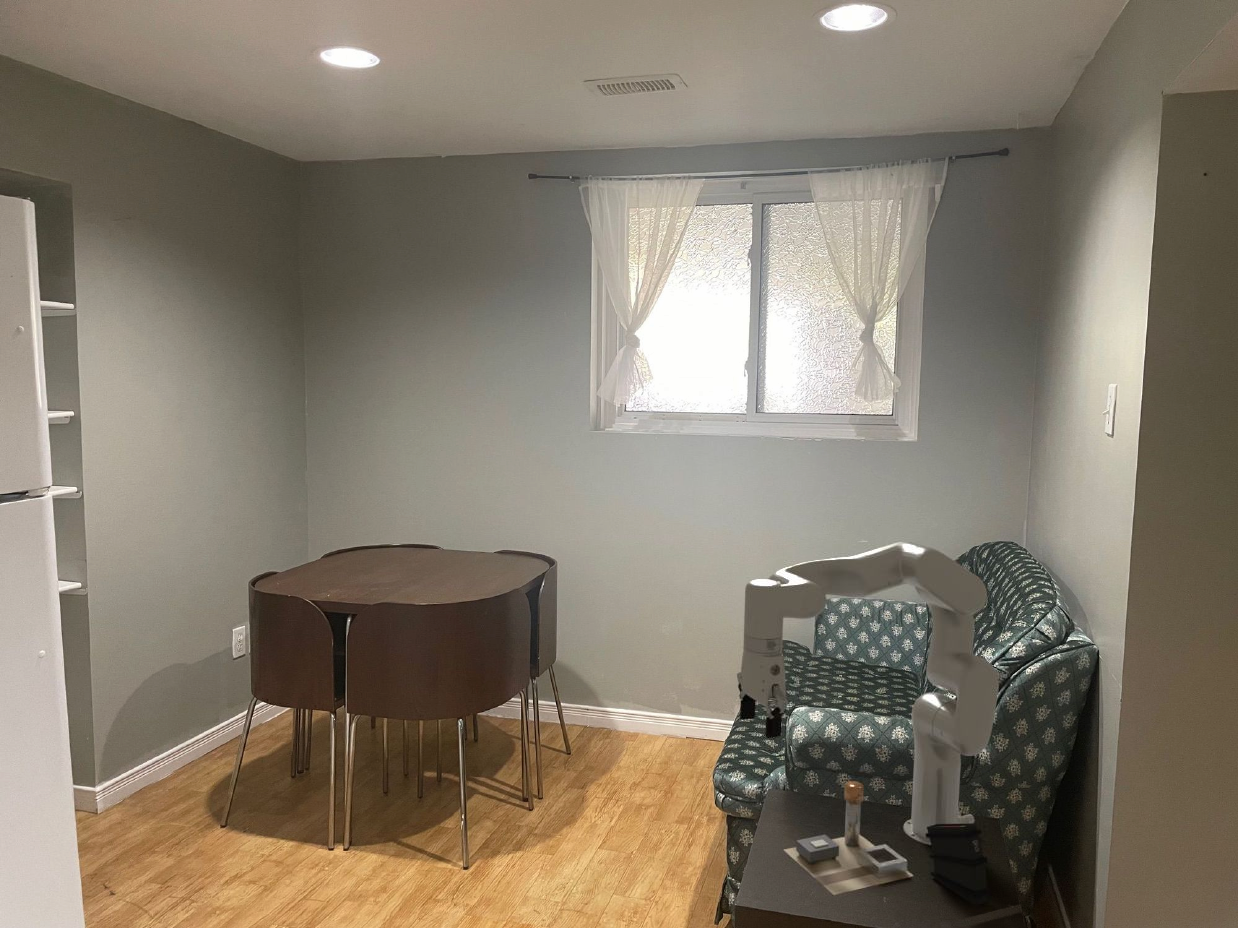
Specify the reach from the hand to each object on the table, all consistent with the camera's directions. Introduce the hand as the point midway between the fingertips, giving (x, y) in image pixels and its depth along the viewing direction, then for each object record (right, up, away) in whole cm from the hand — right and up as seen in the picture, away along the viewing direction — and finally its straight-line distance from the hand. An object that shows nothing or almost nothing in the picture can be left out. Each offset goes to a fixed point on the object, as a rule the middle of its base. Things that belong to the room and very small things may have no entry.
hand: (760, 727), depth 187 cm
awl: (+22, -29, +14) cm, 38 cm away
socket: (+25, -30, +5) cm, 39 cm away
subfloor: (+19, -30, +6) cm, 36 cm away
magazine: (+38, -32, -2) cm, 49 cm away
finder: (+13, -29, +8) cm, 33 cm away
